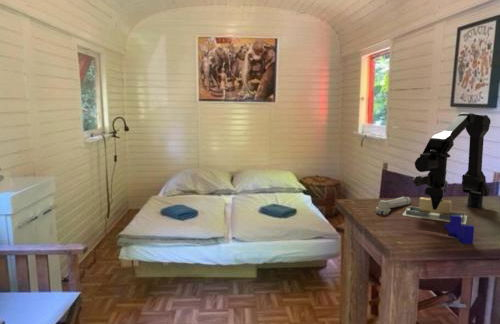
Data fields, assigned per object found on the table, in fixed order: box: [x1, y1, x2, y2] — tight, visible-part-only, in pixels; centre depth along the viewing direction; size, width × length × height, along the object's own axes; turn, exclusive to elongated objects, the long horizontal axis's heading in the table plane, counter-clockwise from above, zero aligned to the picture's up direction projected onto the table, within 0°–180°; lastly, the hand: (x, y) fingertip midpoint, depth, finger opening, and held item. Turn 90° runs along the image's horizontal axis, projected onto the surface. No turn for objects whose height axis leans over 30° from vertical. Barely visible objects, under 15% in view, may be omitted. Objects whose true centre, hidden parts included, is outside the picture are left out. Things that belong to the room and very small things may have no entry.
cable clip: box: [444, 215, 475, 245], centre depth 127 cm, size 12×4×6 cm, turn 171°
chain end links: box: [405, 205, 465, 222], centre depth 148 cm, size 7×20×2 cm, turn 58°
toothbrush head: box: [375, 196, 412, 215], centre depth 159 cm, size 5×7×25 cm
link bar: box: [418, 196, 452, 215], centre depth 148 cm, size 3×11×5 cm, turn 58°
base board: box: [402, 207, 468, 225], centre depth 148 cm, size 12×22×1 cm, turn 58°
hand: (435, 208), depth 148 cm, fingers closed on link bar, 3 cm apart
